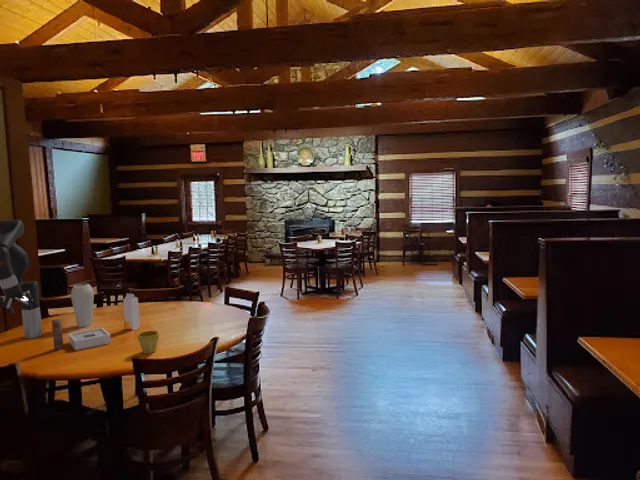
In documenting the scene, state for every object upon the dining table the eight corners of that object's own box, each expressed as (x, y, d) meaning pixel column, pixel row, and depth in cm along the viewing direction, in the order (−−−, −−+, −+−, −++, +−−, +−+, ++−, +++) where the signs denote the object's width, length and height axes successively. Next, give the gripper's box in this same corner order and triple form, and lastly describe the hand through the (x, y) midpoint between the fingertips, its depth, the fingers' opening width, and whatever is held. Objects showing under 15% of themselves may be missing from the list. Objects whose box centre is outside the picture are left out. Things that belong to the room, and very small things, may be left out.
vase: (68, 328, 298) (64, 287, 295) (83, 322, 311) (80, 282, 308) (86, 328, 294) (82, 287, 292) (101, 322, 307) (97, 283, 305)
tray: (69, 342, 268) (68, 333, 268) (102, 335, 279) (102, 327, 279) (75, 350, 254) (74, 341, 254) (110, 342, 265) (110, 334, 265)
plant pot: (142, 356, 242) (140, 337, 241) (136, 351, 250) (135, 333, 249) (162, 351, 248) (161, 333, 247) (156, 346, 256) (155, 329, 255)
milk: (132, 327, 296) (129, 292, 294) (140, 327, 294) (137, 293, 292) (125, 329, 290) (122, 294, 288) (133, 330, 288) (130, 295, 286)
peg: (54, 348, 259) (52, 319, 257) (64, 347, 260) (61, 318, 259) (53, 350, 255) (51, 321, 253) (63, 349, 256) (60, 320, 255)
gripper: (27, 278, 241) (38, 305, 248) (-3, 283, 239) (9, 310, 246) (21, 284, 235) (33, 312, 241) (-9, 290, 233) (4, 318, 239)
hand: (21, 311), depth 243 cm, fingers open, 8 cm apart
